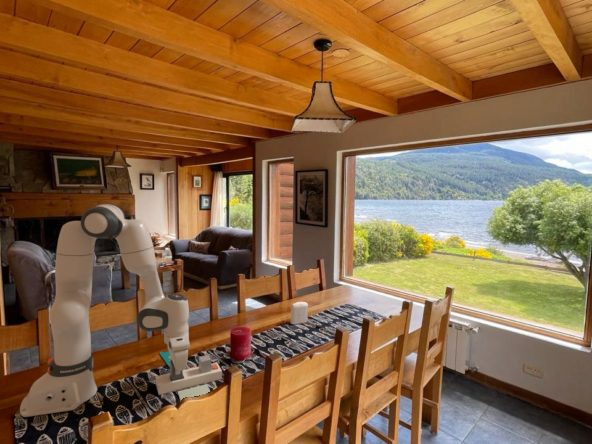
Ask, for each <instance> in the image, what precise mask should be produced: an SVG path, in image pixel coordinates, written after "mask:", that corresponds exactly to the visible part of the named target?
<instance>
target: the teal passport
mask: <svg viewBox="0 0 592 444" xmlns="http://www.w3.org/2000/svg"><path fill="white" fill-rule="evenodd" d="M160 355H161V356H160ZM159 356H160V358H161V359H162V358H163V359H162V360H163V361H164V362H165V364H166V366H167V367H168V368H169V369H170V360H172V359H171V356H170V353H169V350H168V349H167V350H163V351H160V352H159Z"/></svg>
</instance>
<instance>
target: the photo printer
mask: <svg viewBox="0 0 592 444" xmlns="http://www.w3.org/2000/svg"><path fill="white" fill-rule="evenodd" d="M290 307H291V308H290V320H289V321H290V324H291V325H297V324H299V325H300V324H306V323H307V322H308V314H309V313H308V312H309V305H308V303H307V302H305V301H296V302H294V303H292V304H291V306H290Z"/></svg>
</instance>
